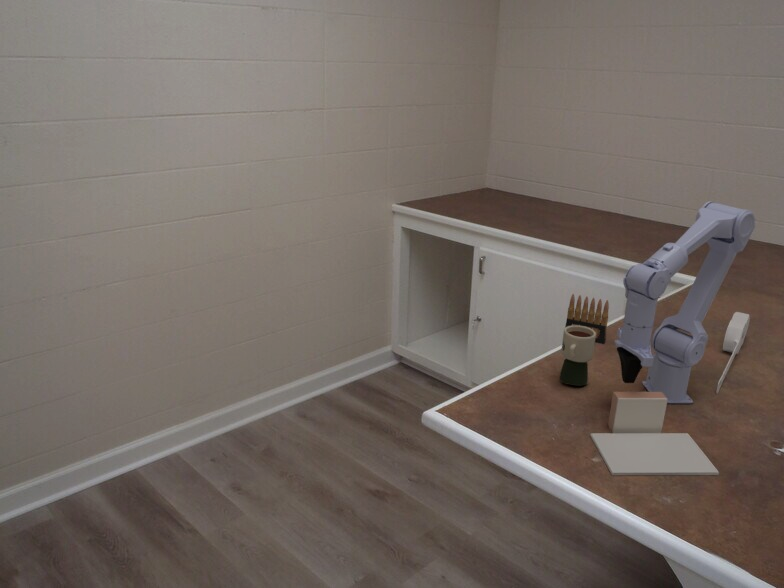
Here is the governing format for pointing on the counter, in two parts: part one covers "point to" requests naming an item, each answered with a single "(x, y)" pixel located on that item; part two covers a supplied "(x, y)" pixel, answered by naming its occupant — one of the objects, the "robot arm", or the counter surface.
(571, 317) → the ammunition clip
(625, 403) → the tile
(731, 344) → the white long handled piece
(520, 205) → the counter surface
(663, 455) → the board
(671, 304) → the counter surface
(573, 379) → the character mug
